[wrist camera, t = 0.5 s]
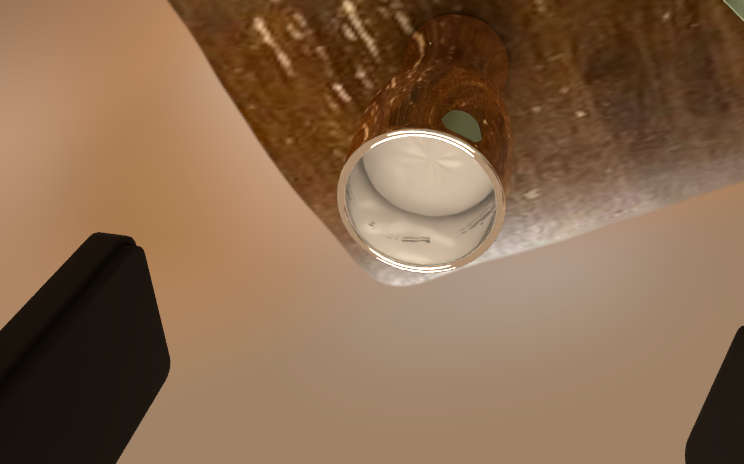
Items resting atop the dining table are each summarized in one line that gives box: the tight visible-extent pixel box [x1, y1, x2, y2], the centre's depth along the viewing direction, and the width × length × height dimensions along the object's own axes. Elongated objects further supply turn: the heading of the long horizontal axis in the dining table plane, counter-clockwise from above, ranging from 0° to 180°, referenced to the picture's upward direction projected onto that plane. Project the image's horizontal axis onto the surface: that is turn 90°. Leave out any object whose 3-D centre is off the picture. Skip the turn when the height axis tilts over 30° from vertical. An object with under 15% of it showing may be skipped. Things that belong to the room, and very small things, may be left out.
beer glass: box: [337, 14, 513, 273], centre depth 31 cm, size 7×7×15 cm
